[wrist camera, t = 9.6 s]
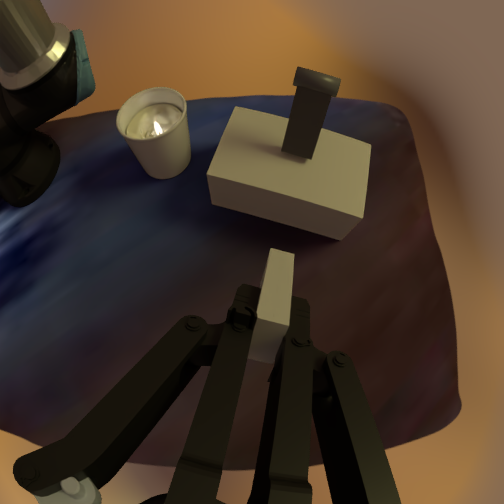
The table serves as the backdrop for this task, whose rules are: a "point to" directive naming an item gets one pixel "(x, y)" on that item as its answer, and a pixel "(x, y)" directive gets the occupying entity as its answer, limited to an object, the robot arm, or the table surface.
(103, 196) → the table surface
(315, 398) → the robot arm
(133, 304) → the table surface
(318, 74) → the lever
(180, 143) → the candle holder
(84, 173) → the table surface
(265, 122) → the beige rectangular box
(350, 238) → the table surface
